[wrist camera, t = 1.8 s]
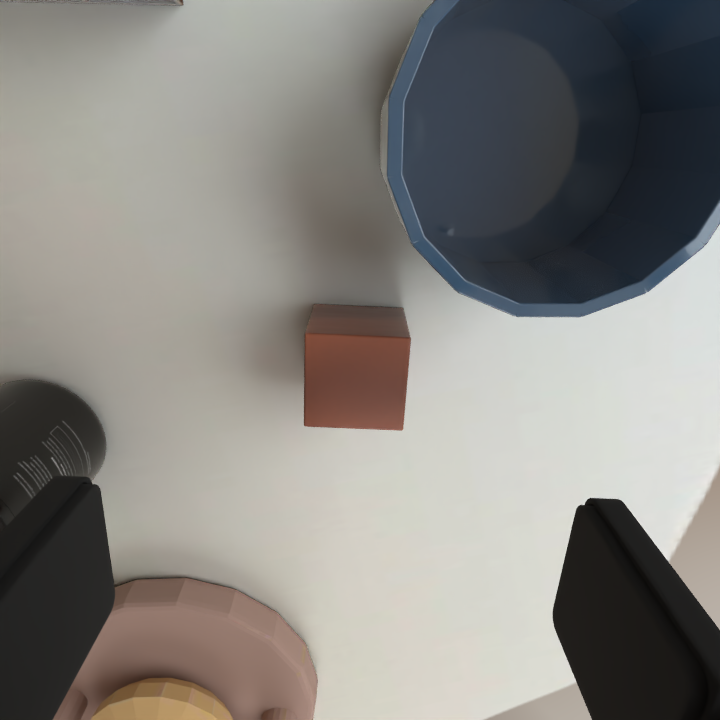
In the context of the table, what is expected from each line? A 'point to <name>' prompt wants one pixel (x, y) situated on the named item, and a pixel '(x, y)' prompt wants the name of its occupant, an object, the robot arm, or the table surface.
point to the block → (356, 367)
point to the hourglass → (192, 659)
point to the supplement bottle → (43, 441)
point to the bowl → (556, 147)
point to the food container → (107, 1)
